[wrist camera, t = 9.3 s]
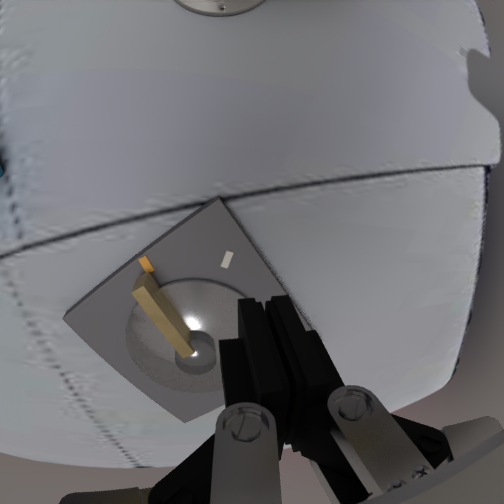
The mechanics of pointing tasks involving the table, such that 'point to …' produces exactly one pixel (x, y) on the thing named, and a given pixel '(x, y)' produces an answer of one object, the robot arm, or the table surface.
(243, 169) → the table surface
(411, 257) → the table surface
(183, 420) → the dial base
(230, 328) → the capstan dial
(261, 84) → the table surface
